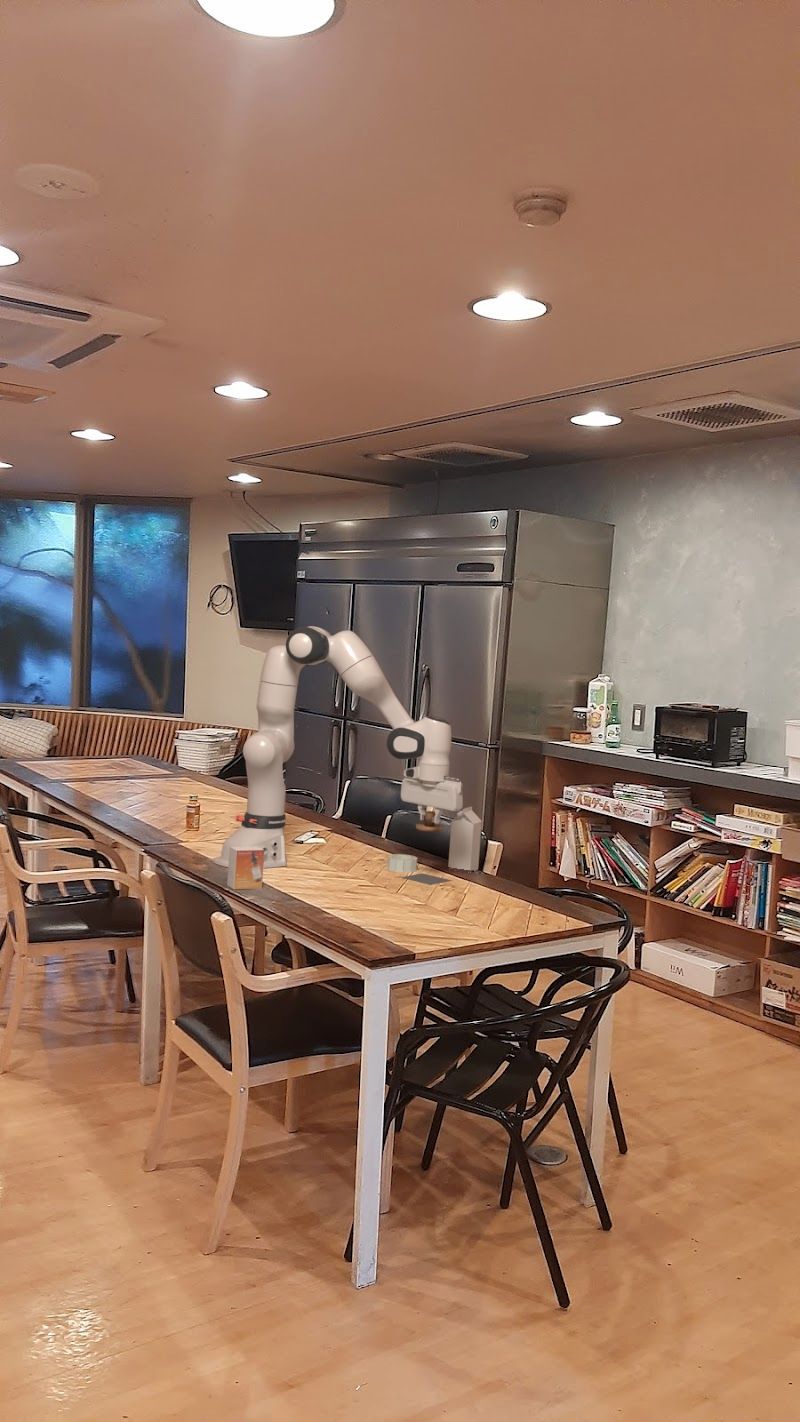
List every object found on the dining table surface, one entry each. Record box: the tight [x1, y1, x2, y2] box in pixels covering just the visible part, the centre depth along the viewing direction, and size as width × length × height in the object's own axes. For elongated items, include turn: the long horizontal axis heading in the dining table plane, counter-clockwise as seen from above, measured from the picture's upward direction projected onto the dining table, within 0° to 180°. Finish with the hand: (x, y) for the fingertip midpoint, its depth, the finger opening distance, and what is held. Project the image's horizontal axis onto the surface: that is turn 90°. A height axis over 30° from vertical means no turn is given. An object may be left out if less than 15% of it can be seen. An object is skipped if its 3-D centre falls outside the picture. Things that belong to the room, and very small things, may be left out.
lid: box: [415, 810, 444, 833], centre depth 311 cm, size 8×8×5 cm
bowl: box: [386, 853, 418, 874], centre depth 323 cm, size 9×9×4 cm
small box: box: [226, 846, 264, 890], centre depth 288 cm, size 8×6×10 cm
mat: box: [400, 872, 453, 886], centre depth 312 cm, size 10×11×1 cm
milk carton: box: [447, 806, 483, 872], centre depth 329 cm, size 7×7×19 cm
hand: (429, 822), depth 311 cm, fingers closed on lid, 3 cm apart
